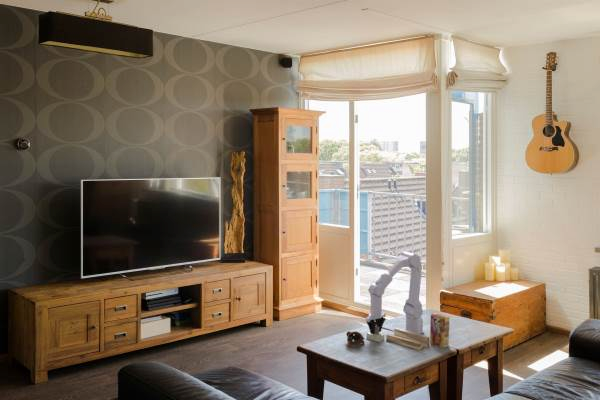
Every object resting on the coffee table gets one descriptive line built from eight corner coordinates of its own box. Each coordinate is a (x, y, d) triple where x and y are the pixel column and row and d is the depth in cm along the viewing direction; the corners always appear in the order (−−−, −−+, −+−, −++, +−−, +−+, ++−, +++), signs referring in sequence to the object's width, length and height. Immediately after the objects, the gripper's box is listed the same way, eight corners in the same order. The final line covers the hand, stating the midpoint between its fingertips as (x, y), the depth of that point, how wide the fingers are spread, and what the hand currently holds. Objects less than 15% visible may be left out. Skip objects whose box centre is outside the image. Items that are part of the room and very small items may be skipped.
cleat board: (396, 336, 305) (396, 328, 304) (429, 345, 291) (429, 336, 290) (386, 340, 298) (386, 331, 298) (419, 349, 284) (419, 340, 284)
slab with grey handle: (372, 336, 305) (372, 323, 304) (384, 340, 299) (384, 327, 298) (366, 338, 302) (366, 325, 301) (378, 342, 296) (379, 329, 295)
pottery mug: (369, 346, 290) (367, 335, 286) (356, 357, 286) (353, 346, 282) (353, 335, 299) (351, 323, 294) (340, 345, 295) (337, 334, 290)
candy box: (449, 346, 290) (450, 316, 288) (443, 348, 287) (444, 318, 286) (434, 341, 297) (435, 312, 295) (429, 343, 294) (430, 314, 293)
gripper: (378, 302, 307) (377, 327, 308) (361, 308, 296) (360, 334, 298) (389, 305, 302) (388, 330, 303) (372, 310, 291) (371, 337, 293)
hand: (375, 332), depth 300 cm, fingers open, 5 cm apart
